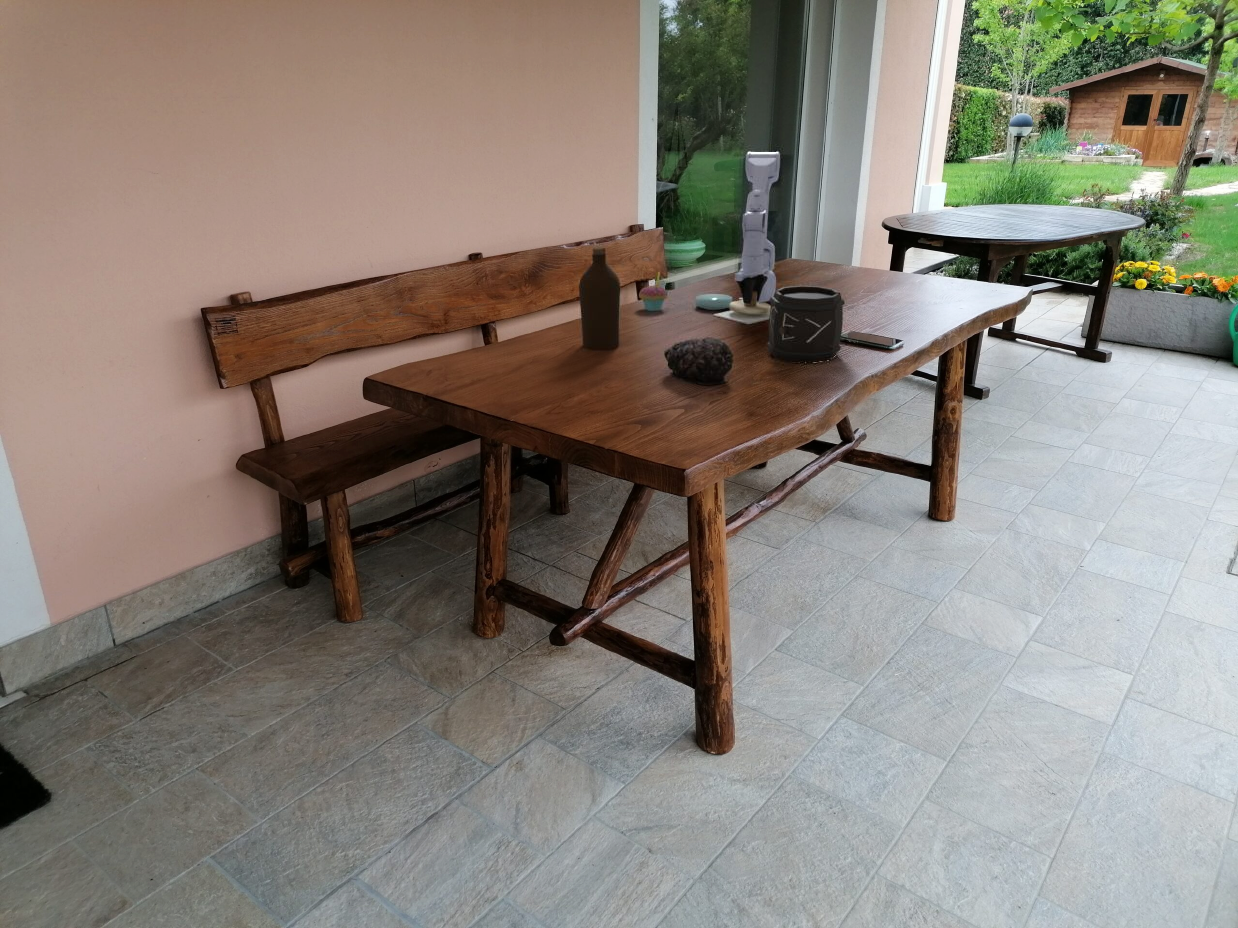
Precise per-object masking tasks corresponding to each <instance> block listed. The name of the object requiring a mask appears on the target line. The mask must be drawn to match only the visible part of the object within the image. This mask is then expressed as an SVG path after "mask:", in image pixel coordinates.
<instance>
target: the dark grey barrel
mask: <svg viewBox="0 0 1238 928" xmlns="http://www.w3.org/2000/svg"><path fill="white" fill-rule="evenodd" d="M841 294H842V293H841V292H839V291H838V290H836V289H834V288H829V287H825V286H818V285H817V286H816V285H794V286H793V285H792V286H785V287H784V286H783V287H780V288H778V289H776V290H775V293H774V296H772V297H770V300H769V301H768V302H769V303H770V306H771V309H770V315H769V319H768V342H767V343H766V345H767V348H768V349H769V350H770V353H771V355H772V354H773V355H772V356H773V358H774V359H776V358H777V359H776V360H779V359H780V361H783V360H784V361H783V362H786V361H787V363H790V362H796V363H795V364H798V363H797V362H800V363H799V364H804V363H805V362H806V363H813V362H819V361H827V360H830V359H831V358H833V357H834V356H835V355H836V356H837V353H838V352H840V351H841V349H842V347H841V345H840V343H841V337H842V334H843V333H842V331H843V320H844V317H843V315H844V312H843V306H844V305H845V299H843V298H842V295H841ZM833 359H834V358H833ZM830 361H831V360H830Z"/></svg>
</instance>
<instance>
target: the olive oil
mask: <svg viewBox="0 0 1238 928" xmlns="http://www.w3.org/2000/svg"><path fill="white" fill-rule="evenodd" d="M591 256H592V257H591V259H592V263H591V265H590V266H589V267H588V268H587V269H586V271H585V272H584V273H583V274H582V276H581V277H580V279H579V280H580V281H579V283H578V284H579V285H578V297H579V305H580V306H579V308H580V318H581V319H580V320H581V334H582V335H581V336H582V346H583V347H584V348H585V349H587V350H593V351H607V350H613V349H616V348H618V347H619V345H620V318H621V317H620V316H621V315H620V314H621V313H620V312H621V289H622V288H621V287H622V286H621V282H620V279H619V277H618V276H617V274H616V273H615V272H614V271H613V269H612V268H611V267H609V265H608V264H607V262H606V261H607V254H606V248H605V247H603V246H602V247H601V246H600V247H593V248H592V254H591Z"/></svg>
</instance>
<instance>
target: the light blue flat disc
mask: <svg viewBox="0 0 1238 928" xmlns="http://www.w3.org/2000/svg"><path fill="white" fill-rule="evenodd" d="M731 302H733V297H732V296H731V295H727V294H722V293H721V294H719V293H704V294H700V295H697V296H696V297H695V306H696V307H697V308H700V309H704V310H707V311H720V310H725V309H730V308H729V305H730V303H731Z"/></svg>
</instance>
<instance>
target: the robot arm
mask: <svg viewBox="0 0 1238 928" xmlns="http://www.w3.org/2000/svg"><path fill="white" fill-rule="evenodd" d="M780 165H781V153H780V152H779V151H776V152H774V151H772V152H769V151H764V152H763V151H761V152H760V151H759V152H758V151H757V152H756V151H748V152H747V153H746V156H745V173H746V178H747V181H748V182H751V183H752V191H750V192H749V193H748V195H747V200H746V206H745V213H743V215H742V226H741V227H742V238H743V247H742V253H741V268H740V269H739V271H738V272H736V273H734V281H736V283H737V286H738V287H739V290H740V293H741V297H738V301H741V300H743V302H744V303H746V304H750V303H751V300H752V292H753V291H757V301H760V302H764V303H767V302H770V301H769V300H770V297H772V296H774V293H775V291H776V290H777V289H776V286H777V277H776V274H775V273H774V271H773V270H774V269H775V260H776V259H775V258H776V252H775V250H776V247H775V245H774V243H772V242H771V241H770V240H769V239H767V236H768V217H769V205H770V203H769V202H770V201H769V200H770V189H771V187H772V184H774V183H775V182H778V179H779V177H780V176H779V175H780V167H781V166H780Z"/></svg>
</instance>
